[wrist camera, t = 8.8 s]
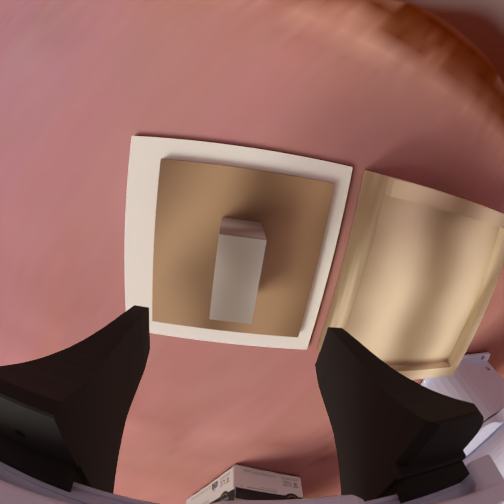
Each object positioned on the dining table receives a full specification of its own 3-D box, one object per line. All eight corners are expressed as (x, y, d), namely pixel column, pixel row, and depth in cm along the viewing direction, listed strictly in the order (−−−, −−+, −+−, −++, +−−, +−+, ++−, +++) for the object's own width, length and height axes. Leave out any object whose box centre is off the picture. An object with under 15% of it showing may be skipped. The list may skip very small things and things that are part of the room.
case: (482, 205, 20) (517, 219, 16) (431, 347, 25) (452, 375, 21) (364, 169, 19) (394, 178, 15) (317, 347, 24) (330, 383, 20)
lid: (332, 182, 19) (355, 193, 15) (296, 332, 23) (307, 368, 19) (163, 158, 18) (144, 163, 14) (154, 316, 22) (140, 350, 18)
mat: (350, 166, 19) (352, 167, 19) (305, 346, 24) (306, 349, 23) (133, 135, 18) (131, 135, 17) (128, 325, 22) (126, 328, 22)
